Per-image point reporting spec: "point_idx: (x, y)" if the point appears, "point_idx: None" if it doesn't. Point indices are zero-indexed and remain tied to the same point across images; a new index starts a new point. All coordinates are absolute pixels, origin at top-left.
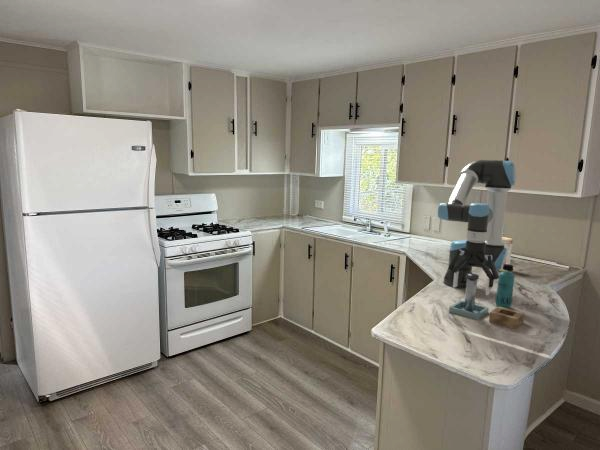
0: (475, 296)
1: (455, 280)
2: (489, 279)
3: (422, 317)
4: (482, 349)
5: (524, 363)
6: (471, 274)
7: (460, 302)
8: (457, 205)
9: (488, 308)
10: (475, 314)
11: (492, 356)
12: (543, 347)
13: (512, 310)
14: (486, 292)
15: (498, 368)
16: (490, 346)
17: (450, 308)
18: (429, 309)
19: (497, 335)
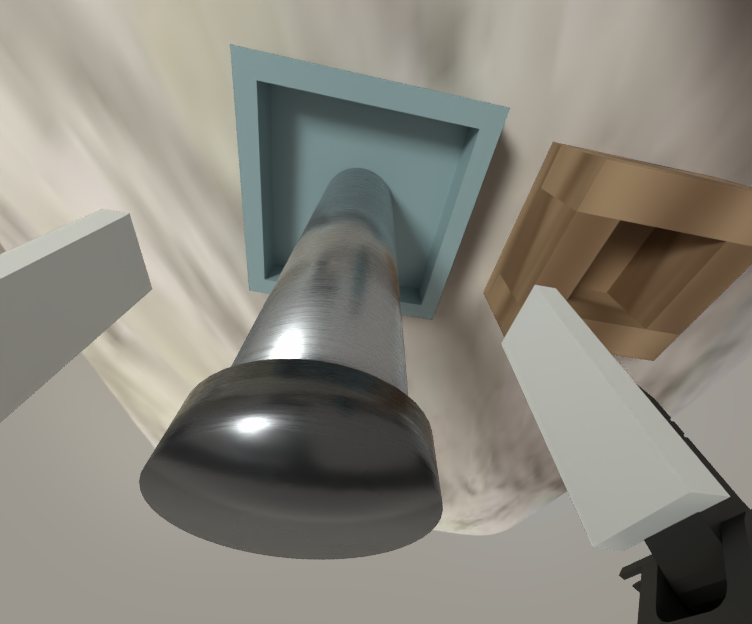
0: (396, 258)
1: (77, 345)
2: (635, 573)
3: (204, 371)
4: (455, 470)
5: (554, 483)
6: (258, 502)
7: (256, 121)
8: None
9: (506, 113)
10: (415, 316)
11: (479, 484)
12: (668, 395)
13: (711, 206)
14: (518, 365)
15: (488, 510)
16: (477, 451)
17: (259, 288)
18: (148, 261)
19: (510, 382)
